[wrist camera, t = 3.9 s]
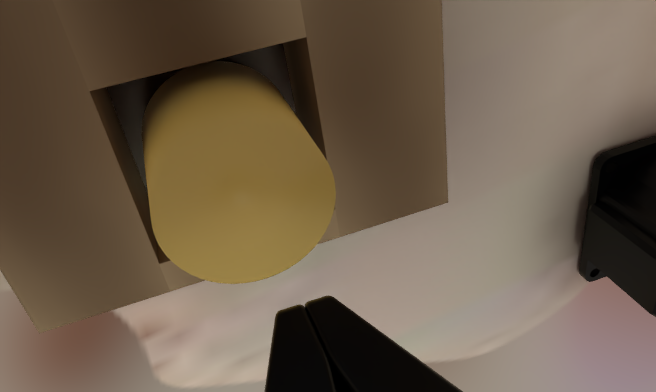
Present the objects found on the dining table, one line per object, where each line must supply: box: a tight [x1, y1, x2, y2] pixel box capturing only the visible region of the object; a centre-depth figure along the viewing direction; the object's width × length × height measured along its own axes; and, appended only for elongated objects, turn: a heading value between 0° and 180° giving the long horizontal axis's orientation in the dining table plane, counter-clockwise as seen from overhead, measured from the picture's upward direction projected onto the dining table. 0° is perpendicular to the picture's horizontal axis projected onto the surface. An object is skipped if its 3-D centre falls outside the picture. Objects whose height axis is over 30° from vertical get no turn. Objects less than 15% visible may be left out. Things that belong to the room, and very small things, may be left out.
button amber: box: [141, 61, 336, 284], centre depth 14 cm, size 4×4×4 cm
